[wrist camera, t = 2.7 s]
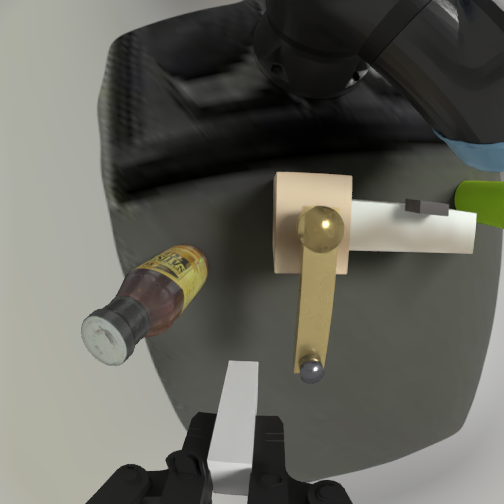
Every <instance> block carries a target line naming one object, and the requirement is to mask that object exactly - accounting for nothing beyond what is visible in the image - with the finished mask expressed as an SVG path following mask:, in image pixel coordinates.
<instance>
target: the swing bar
mask: <svg viewBox="0 0 504 504" xmlns="http://www.w3.org/2000/svg"><path fill="white" fill-rule="evenodd" d="M296 231H297V235H298V237H299V239H300V240H301V253H300V273H299V289H298V304H297V318H296V330H295V342H294V353H293V369H294V373H300V376H301V379H302V381H303V382H305V383H308V384H313V383H317V382H319V381H320V380H321V379H322V378H323V376H324V363H325V357H326V351H327V344H328V337H329V330H330V323H331V315H332V306H333V297H334V288H335V278H336V266H337V254H338V245H339V244H340V243H341V241H342V239H343V236H344V231H345V227H344V222H343V220H342V218H341V216H340V208H336V207H326V206H322V205H313V206H302V213H301V214H300V215H299V217H298V219H297V223H296Z"/></svg>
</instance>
